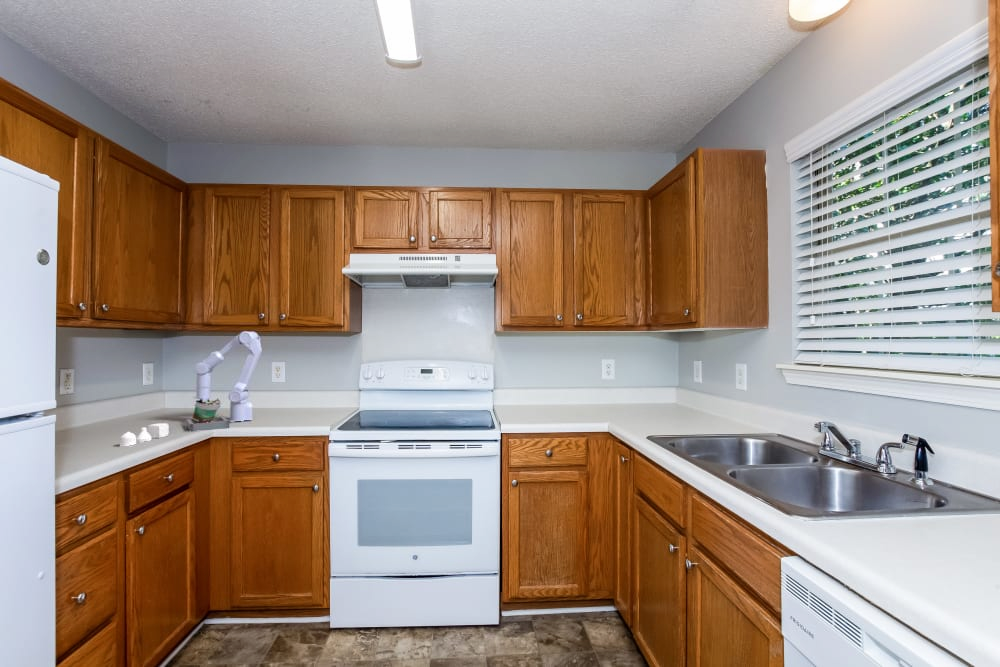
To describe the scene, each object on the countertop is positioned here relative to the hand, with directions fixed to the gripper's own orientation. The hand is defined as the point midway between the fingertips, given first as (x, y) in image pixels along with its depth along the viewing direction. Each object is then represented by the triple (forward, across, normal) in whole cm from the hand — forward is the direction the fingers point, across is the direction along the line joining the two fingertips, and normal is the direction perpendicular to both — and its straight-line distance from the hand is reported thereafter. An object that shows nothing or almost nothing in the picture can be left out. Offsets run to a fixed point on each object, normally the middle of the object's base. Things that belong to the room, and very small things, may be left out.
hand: (203, 415), depth 231 cm
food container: (+2, +6, 0) cm, 6 cm away
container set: (+3, +37, -23) cm, 44 cm away
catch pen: (+3, +17, 0) cm, 17 cm away
